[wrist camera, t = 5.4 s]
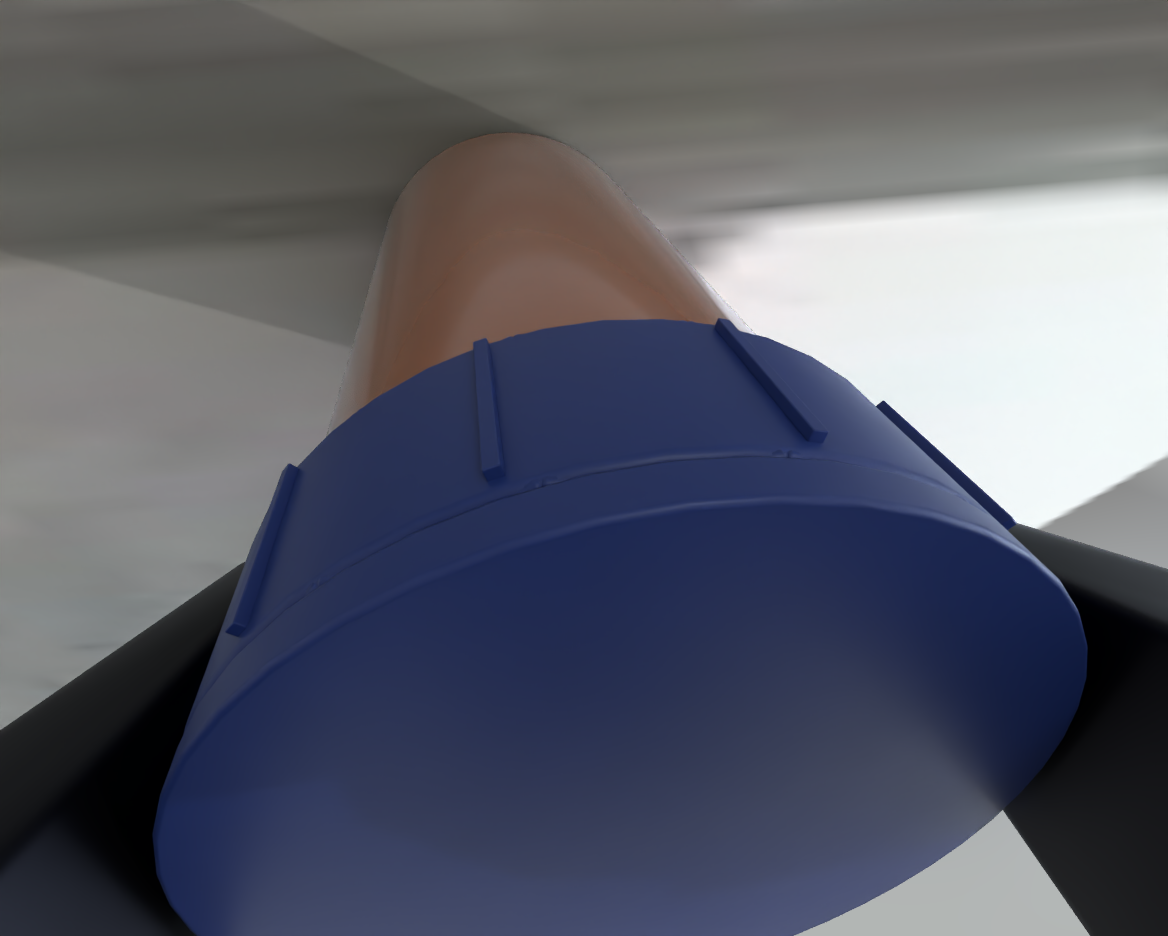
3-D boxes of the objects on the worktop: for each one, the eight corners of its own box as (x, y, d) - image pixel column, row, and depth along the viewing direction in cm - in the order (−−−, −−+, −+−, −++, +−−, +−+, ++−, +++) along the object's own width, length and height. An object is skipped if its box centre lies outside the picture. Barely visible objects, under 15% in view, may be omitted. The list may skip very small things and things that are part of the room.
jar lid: (344, 831, 9) (316, 1055, 7) (100, 356, 4) (-151, 609, 3) (832, 744, 9) (924, 922, 8) (1016, 282, 5) (1317, 427, 3)
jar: (407, 398, 17) (346, 982, 7) (354, 138, 14) (44, 569, 3) (636, 376, 18) (884, 871, 8) (645, 125, 14) (1153, 434, 4)
